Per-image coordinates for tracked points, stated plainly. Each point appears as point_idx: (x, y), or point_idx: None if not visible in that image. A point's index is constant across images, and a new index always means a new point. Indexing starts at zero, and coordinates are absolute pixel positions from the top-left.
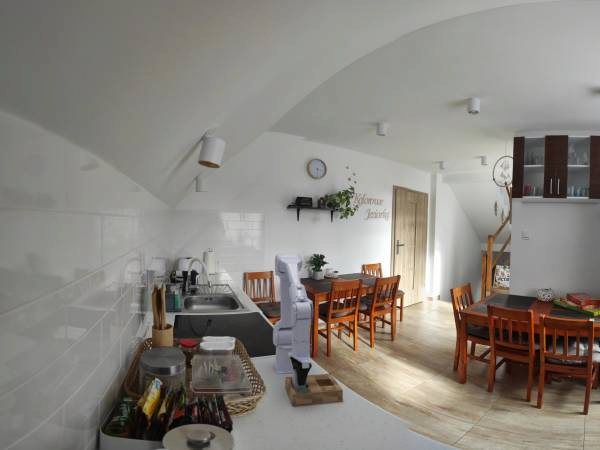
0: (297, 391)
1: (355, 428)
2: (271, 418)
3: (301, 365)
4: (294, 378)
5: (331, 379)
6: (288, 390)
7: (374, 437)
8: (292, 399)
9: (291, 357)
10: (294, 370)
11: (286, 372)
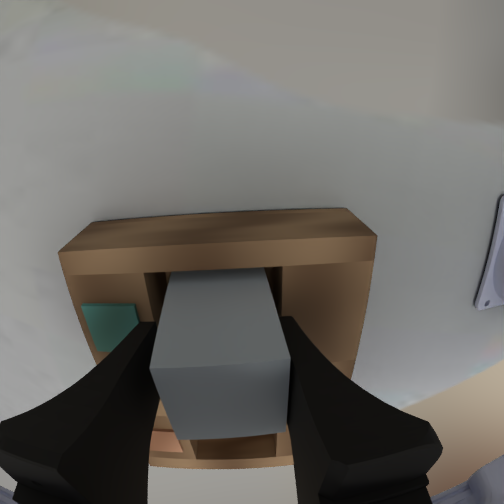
0: (105, 292)
1: (17, 394)
2: (8, 100)
3: (18, 485)
4: (182, 325)
5: (261, 460)
6: (222, 225)
7: (2, 409)
8: (83, 236)
9: (348, 477)
10: (251, 372)
11: (493, 251)
